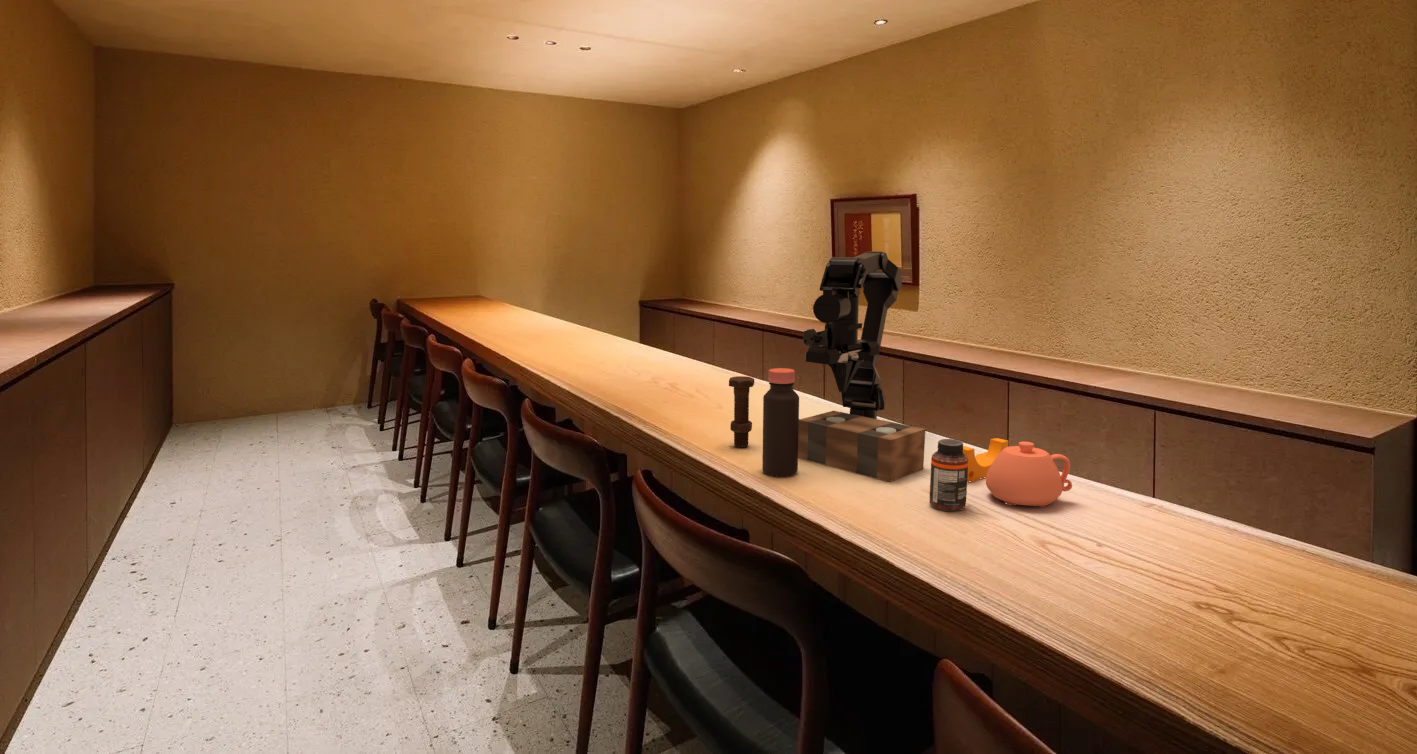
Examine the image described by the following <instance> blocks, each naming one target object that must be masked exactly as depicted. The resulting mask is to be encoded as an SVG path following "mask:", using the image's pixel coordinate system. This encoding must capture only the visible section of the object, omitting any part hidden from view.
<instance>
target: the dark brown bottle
mask: <svg viewBox="0 0 1417 754" xmlns="http://www.w3.org/2000/svg"><path fill="white" fill-rule="evenodd" d="M795 375H796V371H795V370H794V369H793V368H784V367H777V368H769V369H768V384H769V389H768V390H767V392H766V393H765V394H764V395H763V399H762V402H763V404H762V405H763V406H762V467H761V468H762V472H763V473H764V474H765V475H767V476H769V477H770V476H771V477H776V478H787V477H791V476H794V475H797V473H798V470H799V466H798V465H799V458H798V433H799V419H800V397H799V395H798V393H797V392H796V391H795V390H794V389H793V388H794V385H795V382H796V381H795V377H796V376H795Z"/></svg>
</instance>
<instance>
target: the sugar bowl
mask: <svg viewBox="0 0 1417 754" xmlns="http://www.w3.org/2000/svg"><path fill="white" fill-rule="evenodd" d="M1054 460H1063V462H1064V467H1063V470H1062V473H1060V471H1059V468H1058V466H1057V465H1056V463H1055V462H1054ZM1070 469H1071V462H1070V459H1069V458H1068V457H1067V456H1065V455H1064V454H1060V453H1054V454H1051V455H1050V453H1049V452H1047V450H1044V449H1041V448H1039V447H1035V443H1034V442H1030V441H1019V442H1018V445H1012V446H1011V445H1010V446H1008V447H1006V448H1004V449H1003V450H1002V451H1001V452H1000V453H999V455H998V456H997V457H996V458H995V460H994V461H993V463H992V464H991V466H990V468H989V470H988V473H987V476H986V478H985V485H986V487H987V490H988V491H990V493H991V494H992V496H993V497H994V498H996V499H998V500H1000V501H1003V502H1004V504H1005V503H1007V504H1011V505H1010V506H1016V505H1015V504H1017V505H1021V506H1033V507H1034V506H1035V507H1038V506H1042V507H1041V508H1044V507H1043V506H1046V507H1047V505H1050V504H1052V503H1053V502H1054V501H1057V500H1058V498H1060V496H1061V495H1062V493H1063V492H1068V491H1071V489H1072V488H1073V484H1072V481H1071V479H1067V477H1068V476H1069V473H1070ZM1065 484H1067V485H1065ZM1007 504H1006V505H1007Z"/></svg>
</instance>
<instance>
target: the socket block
mask: <svg viewBox="0 0 1417 754" xmlns="http://www.w3.org/2000/svg"><path fill="white" fill-rule="evenodd" d="M828 417H842V418H844V419H845V421H843V422H840V423H836V422H831V421H826V418H828ZM878 427H890V428H894V429H896V432H894V433H891V434H887V433H883V432H878V431H876V428H878ZM925 445H926V428H923V427H917V426H912V425H907V424H903V423H897V422H892V421H888V420H882V419H878V418H877V419H873V418H868V417H863V416H858V415H853V414H850V413H848V412H847V413H846V412H843V411H838V410H830V411H826V412H823V413H819V414H815V415H811V416H808V417H802V418H799V433H798V459H801V460H804V461H807V462H808V461H809V462H813V463H817V464H820V465H823V466H828V467H830V468H831V467H832V468H833V469H834V468H835V469H838V470H842V471H845V472H849V471H850V472H849V473H853V474H858V475H861V476H865V477H869V478H873V479H876V480H880V481H884V482H888V483H890V482H892V481H895V480H898V479H900V478H903V477H905V476H909V475H910V474H913V473H916V472H918V471H921V470H923V469H924V464H925V463H924V461H925V460H924V459H925Z"/></svg>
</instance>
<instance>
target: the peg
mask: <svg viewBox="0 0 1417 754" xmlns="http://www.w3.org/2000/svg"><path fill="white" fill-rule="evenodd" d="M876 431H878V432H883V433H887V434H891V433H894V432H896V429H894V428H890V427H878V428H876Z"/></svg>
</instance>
